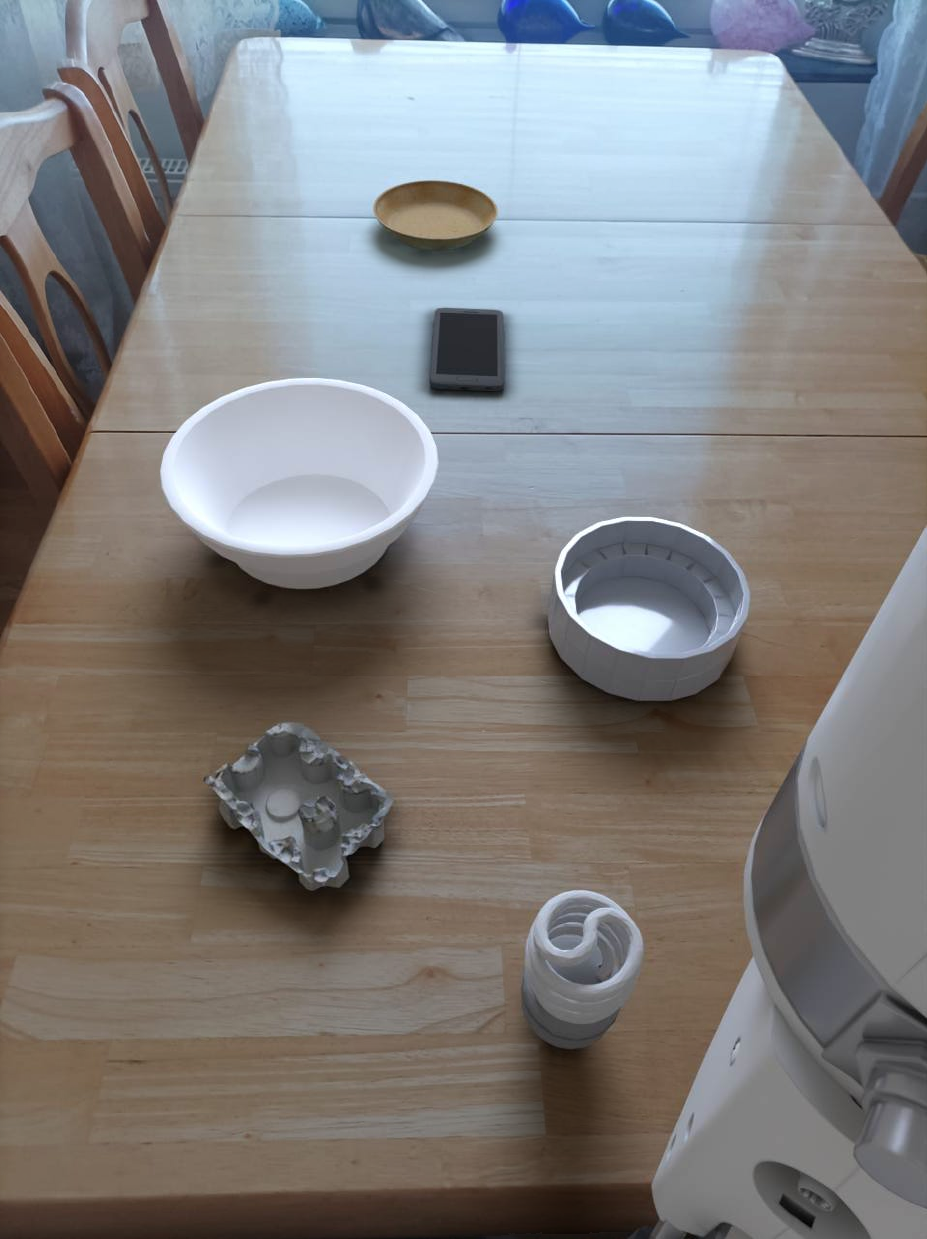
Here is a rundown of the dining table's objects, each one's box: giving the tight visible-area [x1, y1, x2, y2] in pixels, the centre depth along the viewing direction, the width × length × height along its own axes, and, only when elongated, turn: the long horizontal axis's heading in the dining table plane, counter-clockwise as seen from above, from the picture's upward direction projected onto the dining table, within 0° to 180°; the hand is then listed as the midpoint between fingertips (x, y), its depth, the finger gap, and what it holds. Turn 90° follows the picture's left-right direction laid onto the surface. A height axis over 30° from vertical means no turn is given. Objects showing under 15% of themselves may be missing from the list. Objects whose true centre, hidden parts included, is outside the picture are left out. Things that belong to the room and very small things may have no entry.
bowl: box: [159, 377, 440, 590], centre depth 74 cm, size 21×21×8 cm
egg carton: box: [202, 721, 395, 891], centre depth 59 cm, size 11×8×4 cm
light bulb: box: [520, 889, 645, 1050], centre depth 48 cm, size 6×6×12 cm
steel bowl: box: [547, 516, 752, 702], centre depth 70 cm, size 14×14×6 cm
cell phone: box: [429, 307, 506, 392], centre depth 95 cm, size 7×14×1 cm, turn 179°
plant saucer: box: [372, 179, 499, 251], centre depth 112 cm, size 15×15×3 cm
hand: (733, 1138), depth 29 cm, fingers open, 9 cm apart
